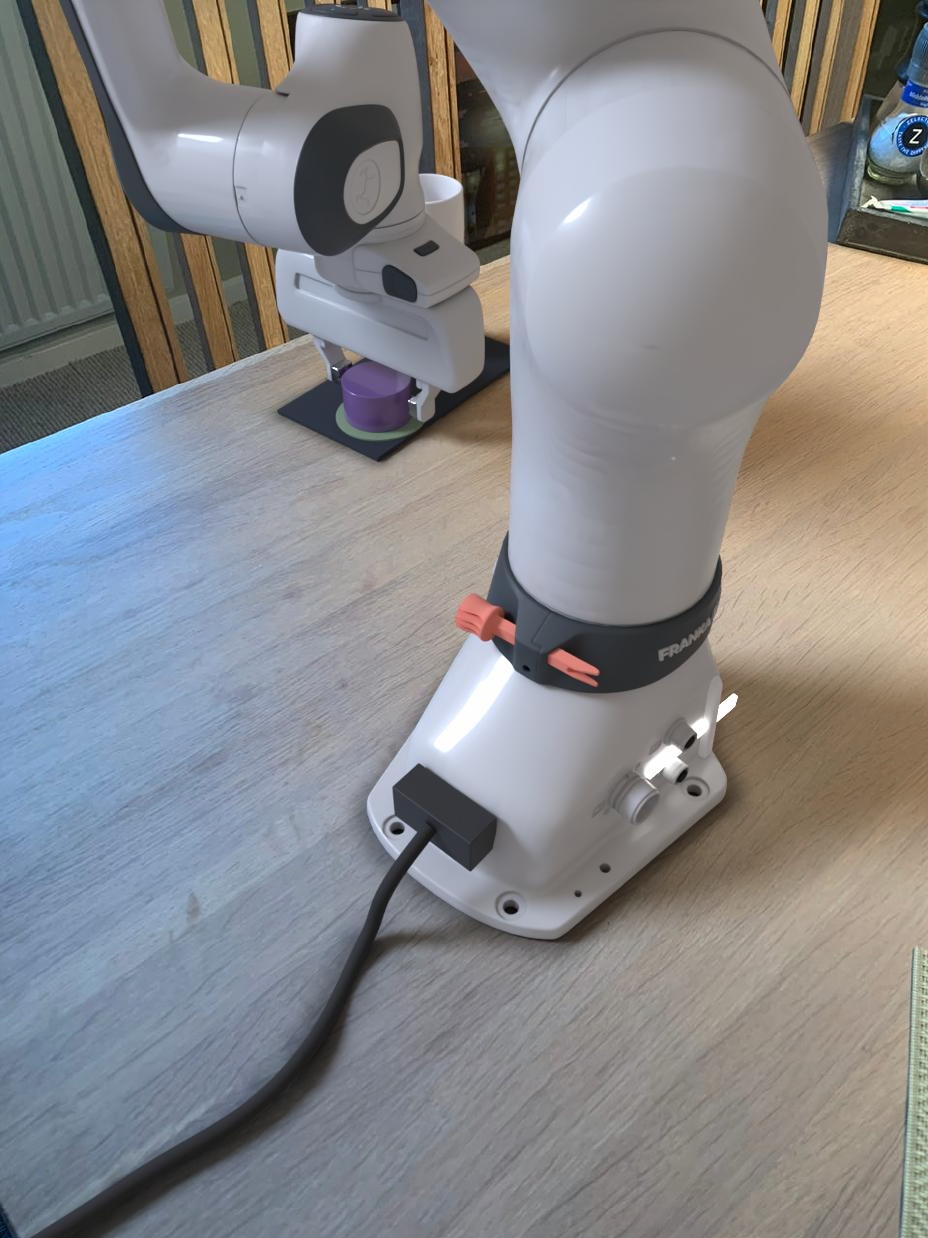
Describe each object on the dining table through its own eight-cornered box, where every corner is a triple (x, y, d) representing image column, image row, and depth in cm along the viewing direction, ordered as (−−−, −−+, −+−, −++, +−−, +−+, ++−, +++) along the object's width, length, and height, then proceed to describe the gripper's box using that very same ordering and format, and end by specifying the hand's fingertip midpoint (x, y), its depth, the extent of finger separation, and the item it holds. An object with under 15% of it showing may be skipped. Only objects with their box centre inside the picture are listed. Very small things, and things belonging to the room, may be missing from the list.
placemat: (377, 461, 83) (377, 456, 83) (272, 411, 89) (271, 405, 88) (529, 356, 96) (530, 350, 95) (429, 317, 101) (429, 312, 101)
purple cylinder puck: (381, 440, 84) (379, 405, 82) (330, 417, 87) (326, 381, 85) (426, 410, 88) (425, 375, 85) (375, 388, 90) (373, 353, 88)
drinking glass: (456, 366, 93) (455, 205, 83) (387, 359, 94) (376, 199, 84) (471, 331, 98) (471, 175, 87) (404, 324, 99) (397, 169, 88)
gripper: (246, 222, 80) (270, 374, 89) (444, 294, 70) (447, 456, 80) (302, 197, 83) (319, 346, 93) (497, 263, 74) (494, 421, 84)
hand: (380, 398), depth 86 cm, fingers open, 8 cm apart
